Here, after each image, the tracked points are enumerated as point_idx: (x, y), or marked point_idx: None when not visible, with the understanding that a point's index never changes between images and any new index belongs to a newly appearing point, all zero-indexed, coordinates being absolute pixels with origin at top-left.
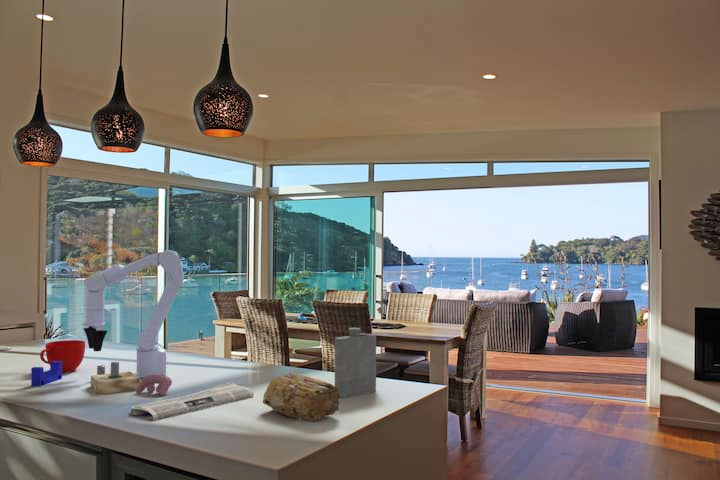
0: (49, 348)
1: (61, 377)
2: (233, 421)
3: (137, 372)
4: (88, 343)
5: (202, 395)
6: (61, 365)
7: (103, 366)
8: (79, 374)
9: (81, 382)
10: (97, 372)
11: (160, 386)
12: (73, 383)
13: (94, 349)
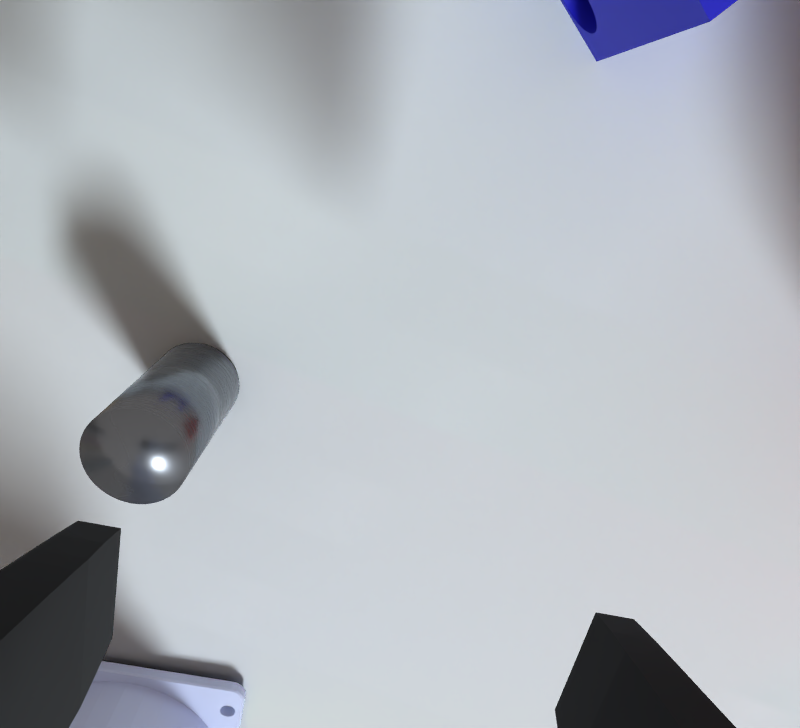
0: None
1: (597, 48)
2: None
3: (99, 703)
4: (664, 692)
5: None
6: (665, 15)
7: (93, 470)
8: (683, 338)
9: (177, 152)
10: (161, 376)
11: None
12: (175, 45)
13: (38, 550)
